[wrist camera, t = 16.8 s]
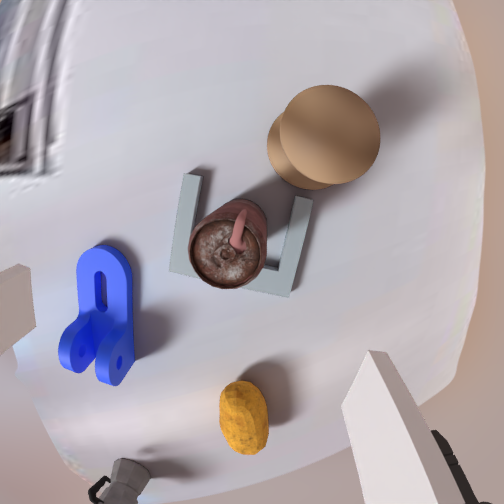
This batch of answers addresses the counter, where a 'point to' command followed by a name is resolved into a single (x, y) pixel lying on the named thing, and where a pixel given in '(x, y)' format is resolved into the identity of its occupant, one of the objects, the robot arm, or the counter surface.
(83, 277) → the bracket
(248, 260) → the can
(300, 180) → the bobbin
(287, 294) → the grey u-shaped frame
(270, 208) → the counter surface
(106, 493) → the coffeepot
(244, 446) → the potato
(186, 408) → the counter surface
